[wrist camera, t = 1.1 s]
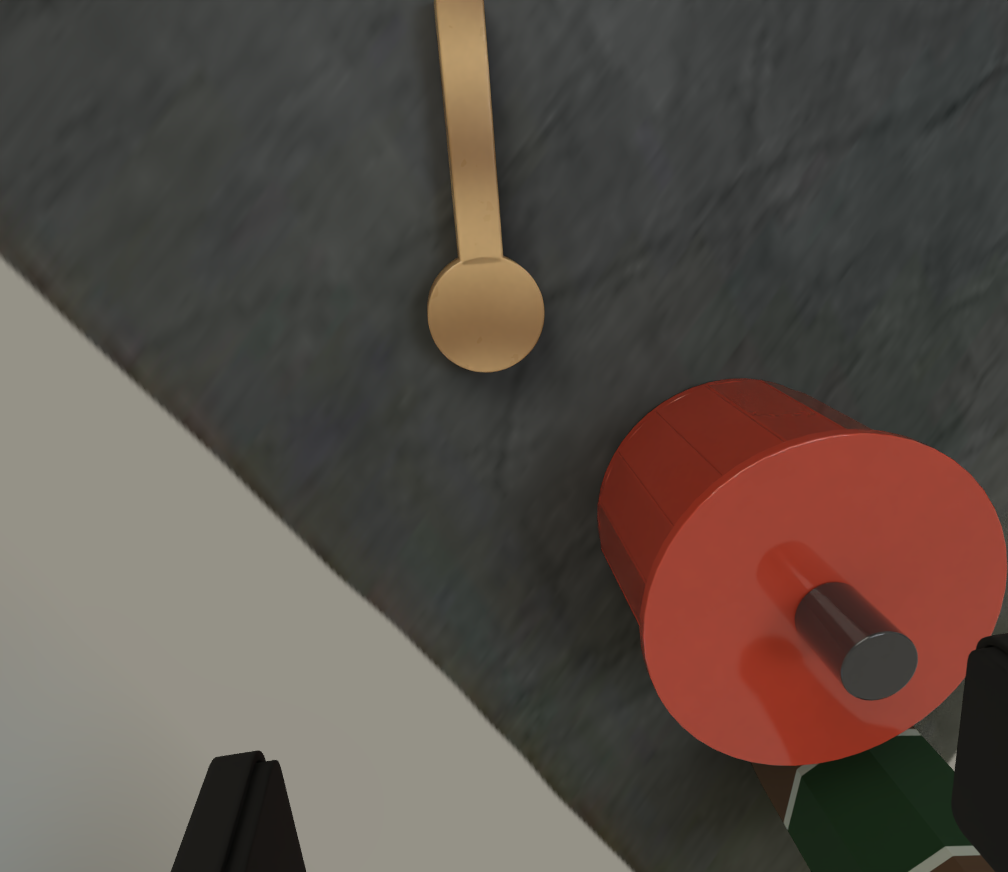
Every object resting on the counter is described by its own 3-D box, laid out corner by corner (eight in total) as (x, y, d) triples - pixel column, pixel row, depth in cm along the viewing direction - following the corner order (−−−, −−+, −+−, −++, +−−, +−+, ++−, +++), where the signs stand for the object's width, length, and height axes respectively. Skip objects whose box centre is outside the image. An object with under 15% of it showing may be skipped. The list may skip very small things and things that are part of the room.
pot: (591, 392, 31) (651, 464, 23) (858, 364, 32) (1005, 425, 24) (601, 632, 35) (655, 765, 27) (840, 601, 36) (961, 722, 28)
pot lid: (630, 445, 24) (671, 496, 20) (1008, 403, 24) (1118, 444, 21) (637, 766, 28) (673, 861, 24) (961, 720, 29) (1046, 804, 25)
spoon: (392, 2, 26) (391, -9, 24) (519, -6, 26) (525, -17, 25) (433, 368, 30) (434, 378, 29) (541, 357, 30) (548, 366, 29)
